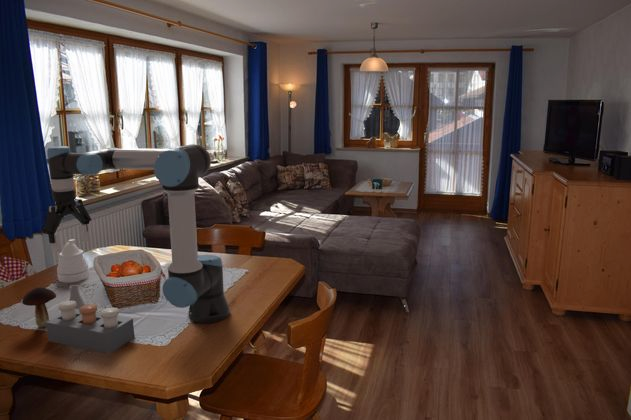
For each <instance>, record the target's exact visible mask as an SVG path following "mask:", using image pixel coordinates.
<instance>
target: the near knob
mask: <svg viewBox="0 0 631 420" xmlns="http://www.w3.org/2000/svg"><path fill="white" fill-rule="evenodd" d="M119 311H120V310H119V308H118V307H108V308H107V307H106V308H104V309H102V310H100V312H99V313H101V317H102V318H103V321H104V327H105V328H110V329H112V328H114V327H116V326H117V325H118V318H117V316H119V313H120V312H119Z"/></svg>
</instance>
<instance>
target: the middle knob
mask: <svg viewBox="0 0 631 420" xmlns="http://www.w3.org/2000/svg"><path fill="white" fill-rule="evenodd" d="M96 312H98V305H97V304H95V303H90V304H86V305H84V306H81V307H80V308H79V313H80V314H82V321H83V324H88V325H91V324H92V323H94V322H96V321H97V318H96Z"/></svg>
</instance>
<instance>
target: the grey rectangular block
mask: <svg viewBox="0 0 631 420" xmlns="http://www.w3.org/2000/svg"><path fill="white" fill-rule="evenodd" d="M75 312H76V318H74V319H72V320H70V321H66V320H62V314H60V315H58V316H56V317H53V318H52V319H49V321H48V322H46V332H47V338H48V342H50V343H55V344H61V345H65V346H70V347H71V346H72V347H76V348H80V349H86V350H91V351H95V352H100V353H106V354H112V353H113V352H115V351H116V350H118V349H119V348H121V347H122V346H124V345H125V344H126V343H128V342H130V341H131V340H132V339H134V338H135V327H134V326H135V325H134V319H133V317H129V316H128V317H126V316H121V315H117V318H118V325H117V326H116V327H114V328H112V329H110V328H105V327H104V321H103V318H102V317H101V313H100V312H98V311H96V318H97V321H96V322H94V323H92V324H91V325H88V324H83V321H82V314H80V313H79V309H75Z"/></svg>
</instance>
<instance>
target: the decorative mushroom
mask: <svg viewBox="0 0 631 420" xmlns="http://www.w3.org/2000/svg"><path fill="white" fill-rule="evenodd" d="M56 298H57V294H56V293H55V292H54V291H53V290H52V289H49V288H46V287H43V286H42V287H41V286H38V287H34V288H33V289H31V290H29V291H28V292H27V293H26V294H25V295H23V298H22V301H21V304H23V305H25V306H29V307H30V306H32V307H33V306H35V307H34V315H35V319H34V320H35V324H36V326H38V328H47V326H46V322H48V321H50V317H49V310H48V308H47V306H46V304H47V303H48V302H50V301H52V300H54V299H56Z"/></svg>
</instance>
